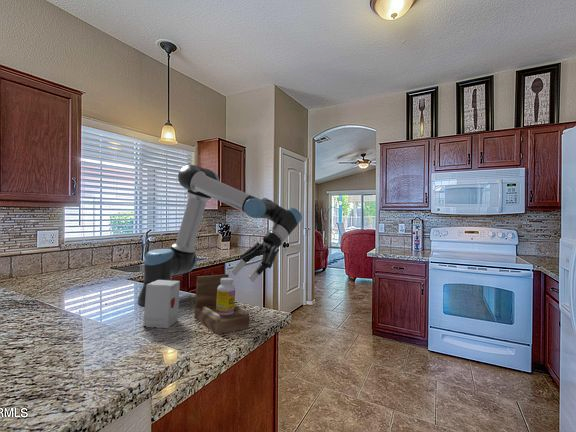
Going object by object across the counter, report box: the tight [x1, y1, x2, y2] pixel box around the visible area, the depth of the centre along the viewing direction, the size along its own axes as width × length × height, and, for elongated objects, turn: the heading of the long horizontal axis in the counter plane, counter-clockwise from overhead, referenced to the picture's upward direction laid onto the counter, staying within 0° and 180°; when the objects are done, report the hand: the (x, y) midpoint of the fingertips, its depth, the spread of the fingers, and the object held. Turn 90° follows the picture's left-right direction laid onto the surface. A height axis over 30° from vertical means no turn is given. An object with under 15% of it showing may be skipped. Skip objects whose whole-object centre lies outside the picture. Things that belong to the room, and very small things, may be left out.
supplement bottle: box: [216, 277, 236, 316], centre depth 108 cm, size 7×7×13 cm
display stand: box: [193, 273, 251, 335], centre depth 110 cm, size 20×13×16 cm, turn 39°
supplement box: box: [142, 280, 181, 329], centre depth 105 cm, size 9×9×15 cm
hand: (241, 276), depth 111 cm, fingers open, 13 cm apart
